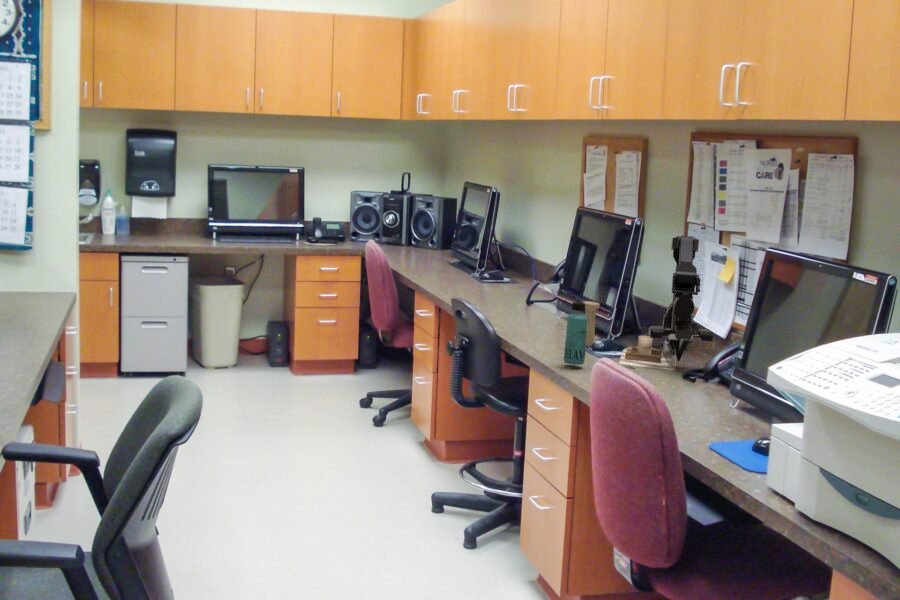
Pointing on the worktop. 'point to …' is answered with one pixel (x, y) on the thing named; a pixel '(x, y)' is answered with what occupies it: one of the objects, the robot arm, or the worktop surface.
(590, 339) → the handle
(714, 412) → the worktop surface
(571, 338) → the beverage bottle
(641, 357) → the cradle
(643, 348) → the pivot pin
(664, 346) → the bar
